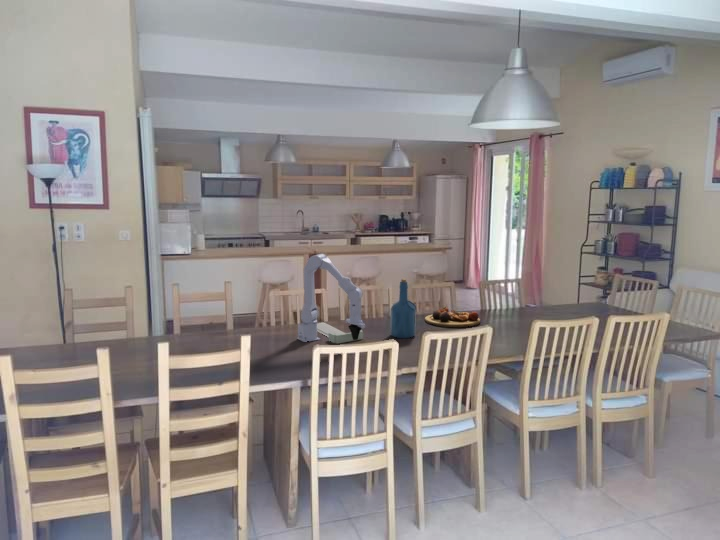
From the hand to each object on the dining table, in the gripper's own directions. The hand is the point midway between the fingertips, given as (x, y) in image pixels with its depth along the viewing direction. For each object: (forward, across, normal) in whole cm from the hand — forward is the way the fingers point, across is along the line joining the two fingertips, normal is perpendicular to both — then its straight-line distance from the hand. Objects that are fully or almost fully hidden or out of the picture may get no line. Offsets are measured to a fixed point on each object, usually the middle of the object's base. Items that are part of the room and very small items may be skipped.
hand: (355, 339), depth 266 cm
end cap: (+2, +8, 0) cm, 8 cm away
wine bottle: (+2, -2, -29) cm, 29 cm away
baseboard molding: (+3, +29, 0) cm, 29 cm away
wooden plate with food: (+3, +7, -73) cm, 74 cm away
